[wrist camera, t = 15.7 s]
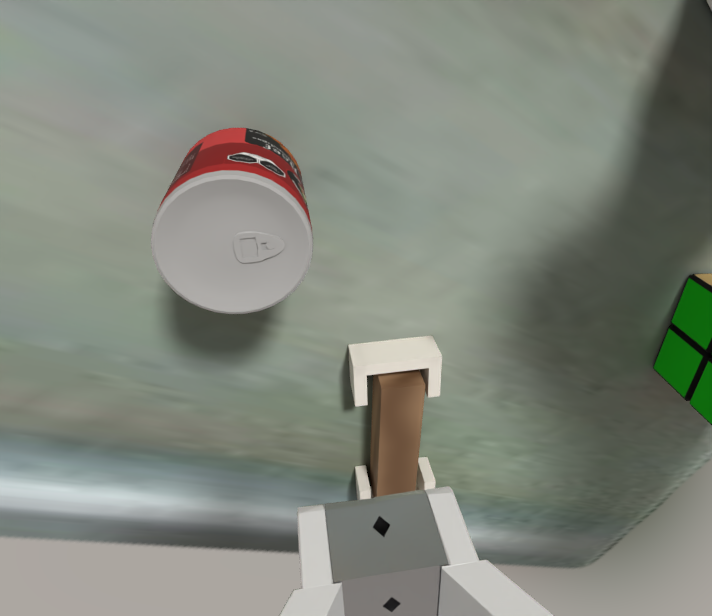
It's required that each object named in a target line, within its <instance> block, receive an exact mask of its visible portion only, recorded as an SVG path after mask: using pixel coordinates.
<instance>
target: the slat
mask: <svg viewBox="0 0 712 616" xmlns="http://www.w3.org/2000/svg"><path fill="white" fill-rule="evenodd" d="M424 395H425V383H424V381H423V378H422V376H421V373H420V371H419V369H417V370H408V371H400V372H391V373H383V374H374V375H373V395H372V426H371V456H370V482H371V487H372V491H373V496H374V497H378V496H384V495H391V494H397V493H404V492H410V491H415V489H416V479H417V468H418V458H419V447H420V437H421V426H422V416H423V405H424Z"/></svg>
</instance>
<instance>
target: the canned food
mask: <svg viewBox="0 0 712 616" xmlns="http://www.w3.org/2000/svg"><path fill="white" fill-rule="evenodd" d="M151 248H152V255H153V259H154V261H155V264H156V267H157V269H158V271H159V273H160V274H161V276H162V277H163V279H164V281H165V282H166V283H167V284H168V285H169V286H170V287H171V288H172V289H173V290H174V292H175V293H177V294H178V295H180V296H181V297H182V298H184V299H185V300H186V301H188V302H190V303H192V304H194V305H196V306H198V307H200V308H203V309H207V310H210V311H213V312H218V313H226V314H246V313H251V312H256V311H260V310H263V309H266V308H269V307H271V306H274V305H275V304H277V303H279V302H280V301H282V300H284V299H285V298H287V297H288V296H289V295H290V294H291V293H292V292H294V291H295V290H296V288H297V287H298V286H299V285H300V283H301V282H302V281H303V279H304V277H305V275H306V273H307V271H308V269H309V267H310V263H311V259H312V252H313V234H312V227H311V222H310V217H309V212H308V207H307V202H306V197H305V192H304V187H303V182H302V177H301V172H300V169H299V167H298V165H297V162H296V160H295V159H294V157H293V156H292V154H291V153H290V152H289V150H288V149H287V148H285V147H284V146H283V145H282V144H281V143H280V142H279V141H277V140H276V139H274V138H273V137H271V136H269V135H267V134H265V133H262V132H260V131H257V130H252V129H247V128H229V129H223V130H219V131H217V132H214V133H211V134H209V135H207V136H206V137H204V138H203V139H201V140H200V141H198V142H197V143H196V144H195V145H194V146H193V147H192V148H191V149H190V151H189V152H188V154H187V156H186V157H185V159H184V161H183V162H182V164H181V166H180V168H179V170H178V172H177V174H176V176H175V178H174V179H173V181H172V183H171V185H170V187H169V189H168V191H167V193H166V195H165V196H164V198H163V200H162V202H161V205H160V207H159V209H158V211H157V214H156V217H155V220H154V223H153V228H152V236H151Z"/></svg>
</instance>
